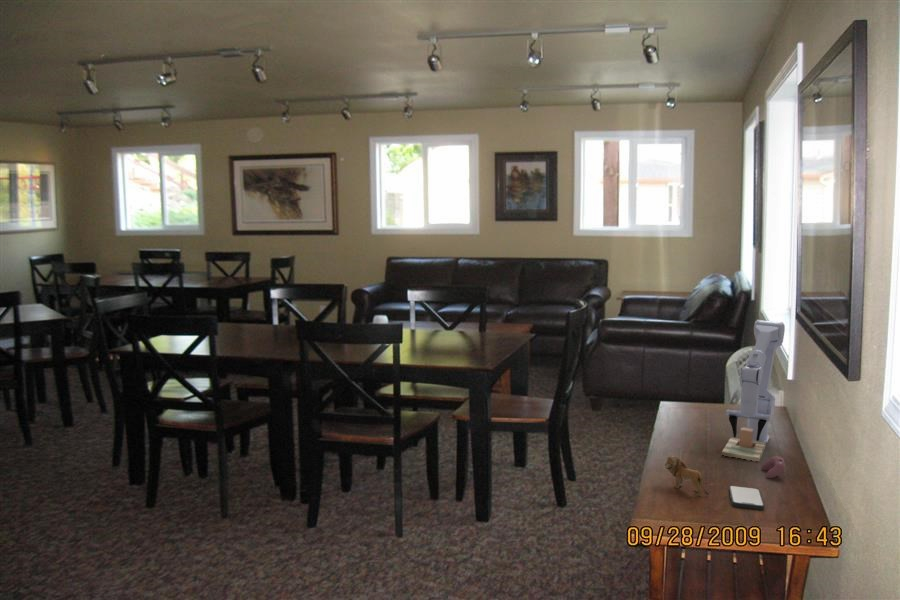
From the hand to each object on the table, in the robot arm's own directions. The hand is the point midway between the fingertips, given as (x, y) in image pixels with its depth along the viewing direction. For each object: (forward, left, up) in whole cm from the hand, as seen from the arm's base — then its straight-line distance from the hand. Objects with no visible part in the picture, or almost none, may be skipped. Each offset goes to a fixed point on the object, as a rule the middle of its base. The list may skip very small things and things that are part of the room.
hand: (746, 438), depth 289 cm
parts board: (+4, 0, -4) cm, 5 cm away
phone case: (+54, +7, -4) cm, 54 cm away
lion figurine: (+55, -10, -4) cm, 56 cm away
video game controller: (+25, +12, -4) cm, 28 cm away
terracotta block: (0, 0, -4) cm, 4 cm away
